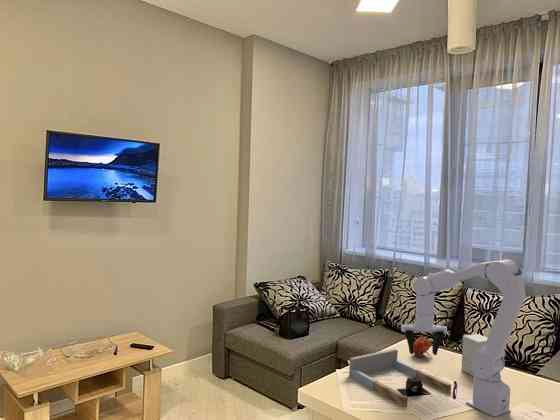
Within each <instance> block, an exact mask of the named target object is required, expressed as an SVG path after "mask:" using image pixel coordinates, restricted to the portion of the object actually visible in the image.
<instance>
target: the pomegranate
mask: <svg viewBox="0 0 560 420" xmlns="http://www.w3.org/2000/svg"><path fill="white" fill-rule="evenodd" d="M431 347H433V343H431V341H430V340H429V339H428V338H425V337H418V338H417V339H416V338H414V345H413V355H414V356H416V357H419V358H422V356H424V354H425V353H426V354H427V356H429V358H431V359H433V357H432V356H431V354H429V353H428V351H429V349H430V348H431Z"/></svg>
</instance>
